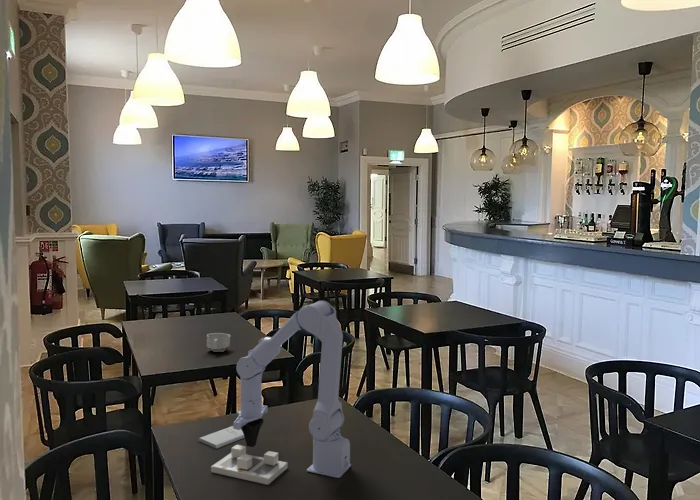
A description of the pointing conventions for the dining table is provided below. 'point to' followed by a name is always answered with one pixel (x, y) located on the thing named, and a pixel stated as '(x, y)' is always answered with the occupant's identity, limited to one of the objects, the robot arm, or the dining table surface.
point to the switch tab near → (271, 458)
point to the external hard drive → (222, 437)
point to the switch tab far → (238, 451)
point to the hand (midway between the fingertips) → (251, 445)
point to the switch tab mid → (244, 462)
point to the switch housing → (250, 469)
